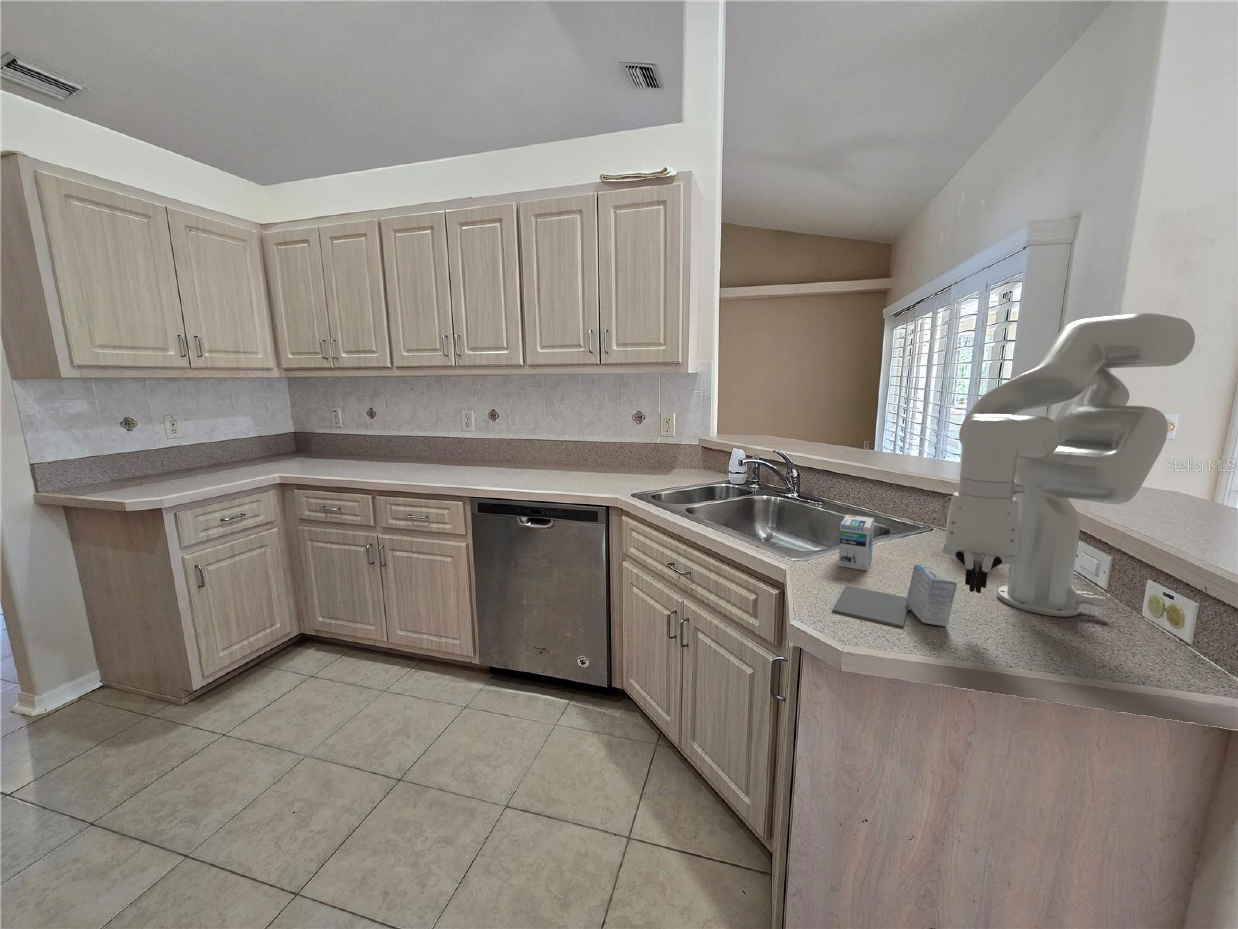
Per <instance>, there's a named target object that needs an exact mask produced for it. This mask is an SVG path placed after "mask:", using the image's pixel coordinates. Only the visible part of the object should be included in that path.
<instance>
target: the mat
mask: <svg viewBox="0 0 1238 929" xmlns="http://www.w3.org/2000/svg"><path fill="white" fill-rule="evenodd" d="M906 600H907V596H901V595H897V594H891V593H886V592H881V591H876V590H872V589H866V588H861V587H855V586H852V585H847V584H846V585H845V587H844V588H843V590H842V592H841V593H840V595H839V597H838V599H837V600H836V602H835V604H834V606H833V607H832V609H831V610H832V613H835V614H840V615H845V616H849V617H853V618H858V619H862V620H866V621H870V622H874V623H875V622H876V623H880V624H884V625H888V626H891V627H892V626H893V627H896V626H897V628H902V629H903V628H904V626H905V624H906V618H907V612H908V609H909V607H908V606H907V605H906Z"/></svg>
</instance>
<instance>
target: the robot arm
mask: <svg viewBox="0 0 1238 929" xmlns="http://www.w3.org/2000/svg"><path fill="white" fill-rule="evenodd" d="M1195 342H1196V334H1195V330H1194V328H1193V326H1192V324H1191V323H1190V322H1188V321H1187V320H1186V319H1184V318H1182V317H1177V316H1176V317H1175V316H1170V315H1166V314H1160V313H1152V312H1151V313H1150V312H1137V313H1136V312H1135V313H1128V314H1118V315H1107V316H1097V317H1090V318H1082V319H1078V320H1076V321H1072V322H1071V323H1069V324H1067V325H1065V326H1064V327H1063V328H1062V329H1061V330H1060V331H1059V332H1058V334H1057V335H1056V336H1055V337H1054V339H1053V340H1052V342H1051V343H1050V344H1049V345H1048V347H1047V348H1046V349H1045V351H1044V352H1043V353H1042V355H1041V356H1040V357H1039V359H1038V360H1037V362H1036V363H1035V364H1034V366H1033V367H1032V368H1031V369H1030V370H1028V371H1026V372H1024V373H1021V374H1019V375H1017V376H1015V377H1013V378H1011V379H1009V380H1007V381H1005V382H1004V383H1001V384H1000V385H998V386H996V387H994V388H992V389H991V390H989V391H987V392H986V393H984V394H983V395H982V396H981V397H980V398H979V399H977V401H976V402H975V404H974V405H973V406H972V407H971V409H970V410H969V411H968V413H967V415H966V416H965V418H964V419H963V421H962V423H961V426H960V428H959V433H958V439H959V443H960V445H961V446H962V453H961V464H960V473H959V474H960V475H959V485H958V491H956V492H953V494H952V496H951V497H952V499H951V498H950V499H951V500H950V503H949V507H948V512H947V517H946V518H947V524H946V523H945V525H946V526H945V532H944V533H945V534H944V536H945V537H944V538H945V541H944V543H943V546H942V548H941V551H942V553H943V554H946V555H948V556H951V557H954V558H956V559H957V560H958V561H959V562H960V563H961V564H962V565H963V566H964V567H965V578H964V580H965V581H964V585H967V586H969V589H968V590H969V592H970V593H973V592H975V593H977V594H981V593H982V589H983V588H984V589H986V588H987V581H988V573H989V572H990V571H991V570H993V569H994V568H996V567H999V566H1000V565H1009V570H1008V571H1009V572H1008V573H1009V574H1008V579H1007V580H1008V581H1007V585H1002V586H1000V587H998V588H997V590H996V596H997V597H998V599H1000V600H1001V601H1003V602H1004V603H1006V604H1008V605H1010V606H1012V607H1014V608H1017V609H1020V610H1023V611H1026V612H1030V613H1034V614H1038V615H1044V616H1049V617H1050V616H1051V617H1074V616H1076V615H1079V614H1080V613H1081V608H1082V607H1081V606H1082V604H1083V605H1088V606H1092V607H1096V608H1105V607H1106V597H1103V596H1099V595H1097V596H1096V595H1094V593H1093V592H1089V591H1080V590H1078V589H1077V588H1075V586H1074V585H1073V582H1074V574H1075V569H1076V568H1075V566H1076V559H1077V553H1078V552H1077V551H1078V544H1079V536H1080V532H1081V531H1080V530H1081V520H1080V514H1079V513H1078V511H1077V509H1076V507H1075V506H1074V505H1073V503H1072V502H1071V500H1070V499H1075V500H1079V501H1080V500H1081V501H1086V502H1087V501H1088V502H1092V503H1093V502H1094V503H1100V504H1108V505H1121V504H1125V503H1128V502H1129V501H1132V499H1134V497H1135V496H1136V495H1137V494H1138V492H1139V491H1140V489H1141V488H1142V485H1144V482H1145V481H1146V479H1147V477H1148V475H1149V474H1150V472H1151V470H1152V468H1153V467H1154V465H1155V463H1156V461H1157V459H1158V458H1159V456H1160V454H1161V452H1162V451H1163V448H1164V446H1165V444H1166V441H1167V437H1168V433H1169V427H1168V426H1169V424H1168V419H1167V418H1166V415H1165V414H1164V413H1163V412H1162V411H1160V410H1159V409H1156V408H1155V407H1151V406H1145V405H1127V404H1128V402H1129V400H1130V392H1129V389H1128V387H1127V386H1126V384H1124V382H1122V381H1121V379H1120V378H1118V377H1117V376H1115V375H1114V374H1113V373H1112V372H1111V371H1110V369H1124V368H1126V369H1128V368H1152V367H1170V366H1171V367H1173V366H1175V365H1177V364H1180V363H1181V362H1184V360H1185V359H1187V357H1189V356H1190V355H1191V353H1192V352H1193V349H1194V345H1195ZM1061 403H1063V405H1062V406H1061V408H1060V409H1059V411H1058V412H1057V414H1056V415H1055V417H1054V419H1051V418H1049V417H1046V416H1042V415H1036V414H1035V415H1031V414H1019V413H1023V412H1026V411H1029V410H1035V409H1040V408H1044V407H1048V406H1053V405H1056V404H1061ZM1014 495H1016V497H1014ZM972 553H976V554H983V555H984V556H983V559H982V561H980V563H979V564H978V566H976V563H975V561H973V554H972Z"/></svg>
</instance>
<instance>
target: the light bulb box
mask: <svg viewBox="0 0 1238 929" xmlns="http://www.w3.org/2000/svg"><path fill="white" fill-rule="evenodd" d="M839 528H840V531H839V533H840V535H839V550H838V567H843V568H848V569H849V568H850V569H852V570H853V569H854V570H859V571H866V572H868V571H869V569H870V565H871V563H872V560H873V548H874V536H875V534H874V532H875V518H874V517H867V516H859V515H853V514H852V515H851V514H846V515H845V516H844V518H843V520H842V521H841V523H840V527H839Z"/></svg>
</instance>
